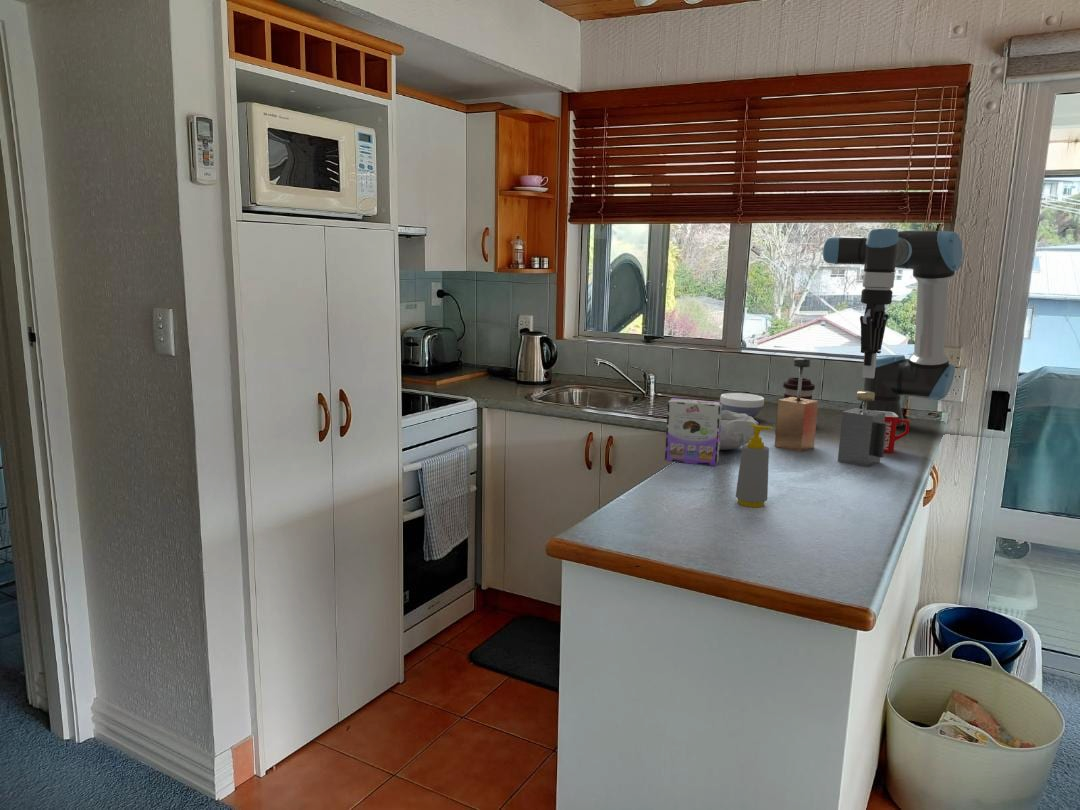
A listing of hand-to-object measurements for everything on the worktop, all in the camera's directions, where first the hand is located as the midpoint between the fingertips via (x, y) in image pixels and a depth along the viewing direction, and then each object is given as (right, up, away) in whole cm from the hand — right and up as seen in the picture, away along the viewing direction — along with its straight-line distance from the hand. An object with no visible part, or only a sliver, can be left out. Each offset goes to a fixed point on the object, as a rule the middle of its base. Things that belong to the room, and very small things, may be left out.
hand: (868, 377), depth 215 cm
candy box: (-47, -23, -1) cm, 53 cm away
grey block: (-1, -23, +4) cm, 23 cm away
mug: (+12, -21, +19) cm, 31 cm away
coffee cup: (-3, -14, +53) cm, 55 cm away
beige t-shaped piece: (-1, -21, +4) cm, 21 cm away
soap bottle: (-41, -30, -36) cm, 62 cm away
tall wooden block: (-14, -20, +19) cm, 31 cm away
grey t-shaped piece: (-14, -11, +18) cm, 25 cm away
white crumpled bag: (-36, -20, +15) cm, 44 cm away
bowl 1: (-20, -12, +58) cm, 63 cm away
